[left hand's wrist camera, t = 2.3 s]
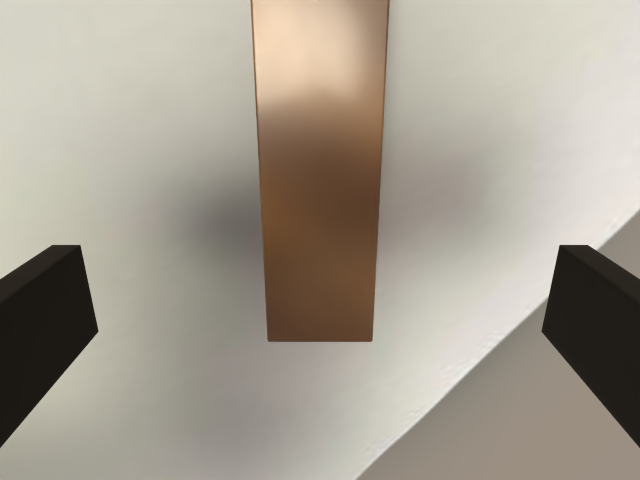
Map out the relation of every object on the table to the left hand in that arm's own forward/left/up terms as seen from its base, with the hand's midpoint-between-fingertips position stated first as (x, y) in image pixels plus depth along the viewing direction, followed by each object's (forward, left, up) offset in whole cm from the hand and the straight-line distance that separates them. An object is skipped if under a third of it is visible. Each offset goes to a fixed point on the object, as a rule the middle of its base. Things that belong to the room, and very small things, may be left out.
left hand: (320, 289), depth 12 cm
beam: (+26, +19, -15) cm, 35 cm away
